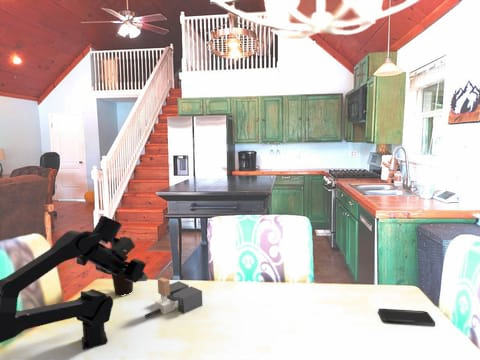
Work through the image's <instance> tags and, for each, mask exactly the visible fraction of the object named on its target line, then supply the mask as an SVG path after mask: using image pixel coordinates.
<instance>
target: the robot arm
mask: <svg viewBox="0 0 480 360" xmlns="http://www.w3.org/2000/svg"><path fill="white" fill-rule="evenodd" d="M122 226H123V224H122V223H120V222H119V221H117V220H114V219H111V218H109V217H107V216H105V215H100V217H99V219H98V222H97V223H96V225H95V227H94V229H92V231H90V230H89V231H88V230H84V231H77V230H69V231H66V232H65V233H64V234H63V235H61V236H60V237H59V238H58V239H57V240H55V242H54V244H53V245H52V247H50V248H49V249H48V250H46V251H44V252H43V253H41V254H40V255H38V256H37V257H36V258H34V259H32V260H30V261H29V262H28V263H26V264H25V265H23V266H21V267H20V268H18V269H17V270H15V271H14V272H12V273H10V274H9V275H7V276H6V277H4V278H0V344H1V343H4V342H6V341H8V340H11V339H13V338H16V337H17V336H18V335H20V334H21V333H22V332H24V331H26V330H28V329H33V328H36V327H41V326H45V325H50V324H53V323H57V322H62V321H65V320H70V319H74V318H76V320H77V321H80V322H81V323H82V336H81V344H82V345H81V346H82V349H83V350H86V349H85V348H87V349H90V348H93V346H94V347H97V345H98V346H101V345H104V343H105V344H107V343H108V342H109V340H108V337H107V333H106V331H105V329H106V328H105V324H106V323H107V322H109V321H110V319H111V314H112V309H113V306H114V299H113V298H112V296H111V295H109V294H106V293H105V292H103V291H100V290H96V289H94V288H91V289H90V290H87V291H86V290H85V291H84V290H82V291H80V296H79V297H78V298H77V299H74V300H69V301H63V302H59V303H54V304H49V305H43V306H39V307H33V308H28V309H23V310H18V298H19V297H20V296H19V295H20V293H21V292H22V291H24V290H25V289H26V288H28V287H29V286H31V285H32V284H33V283H35V282H36V281H38V280H39V279H40V278H42V277H43V276H46V274H48V273H49V272H50V271H52V270H53V269H56V268H57V267H58V266H60V264H62V263H64V262H66V261H70V260H73V259H76V264H77V265H79V266H84V267H85V266H86V265H87V264H88V262H89V263H91V264H94V266H95V270H96V271H98V272H100V273H103V274H107V275H112V274H113V275H124V279H126V280H128V281H131V282H133V284H136V283H137V282H147V281H148V279H149V277H148V275H147V274H146V273H145V271H144V269H145V267H146V262H144V261H143V260H140V259H136V258H133V259H131V260H130V261H127V260H128V258H129V255H128V254H129V253H130V252H131V251H132V250H133V249H135V248H136V244H135V243H134V241H133V240H132V238H131V237H127V236H122V237H121V236H120V237H119V238H118V237H117V235H118V233H119V232H120V229H122ZM109 243H110V245H111V246H110V247H111V248H109V247H108V246H106V245H108V244H109ZM104 244H105V245H104ZM126 265H127V266H126ZM106 342H107V343H106ZM100 344H101V345H100ZM89 347H90V348H89Z"/></svg>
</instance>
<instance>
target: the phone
mask: <svg viewBox="0 0 480 360" xmlns="http://www.w3.org/2000/svg"><path fill="white" fill-rule="evenodd" d="M377 312H378V315H379V317H380V319H381V322H383V323H386V324H402V325H414V326H415V325H416V326H429V327H430V326H433V327H434V326H436V321H435V320H434V319H433V317H432V316H431V315H430V314H429V312H428V311H424V310H412V309H408V310H407V309H398V308H397V309H394V308H378V311H377Z"/></svg>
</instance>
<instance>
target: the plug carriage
mask: <svg viewBox="0 0 480 360" xmlns="http://www.w3.org/2000/svg"><path fill="white" fill-rule="evenodd" d="M170 284H171V283H170V280H169V279H168V278H165V277H160V278H157V292H158V294H159V295H160V296H161V295H162V299H161V298H160V299H158V300H155V310H152V311H150V312H148V313H146V314H144V318H145V319H148V318H149V317H153V316H156V315H157V314H159V313H161V314H163V315H167V314H168V313H170V312H173V311H175V304H174V303H175V301H174V302H173V301H171V300H169V299H167V296H168V295H170Z"/></svg>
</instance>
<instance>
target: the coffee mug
mask: <svg viewBox="0 0 480 360" xmlns="http://www.w3.org/2000/svg"><path fill="white" fill-rule="evenodd" d="M126 266H127V265H126ZM111 278H112V279H111V280H112V282H113V284H112V285H113V291H114V293H115V294H117V295H124V294H129V293H131V292H132V291H133V290H134V282H131V281H128V280H126V279H124V275H113V274H111ZM133 292H134V291H133ZM133 292H132V293H133ZM132 293H131V294H132ZM115 294H114V295H115ZM117 295H116V296H117ZM129 295H130V294H129Z"/></svg>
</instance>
